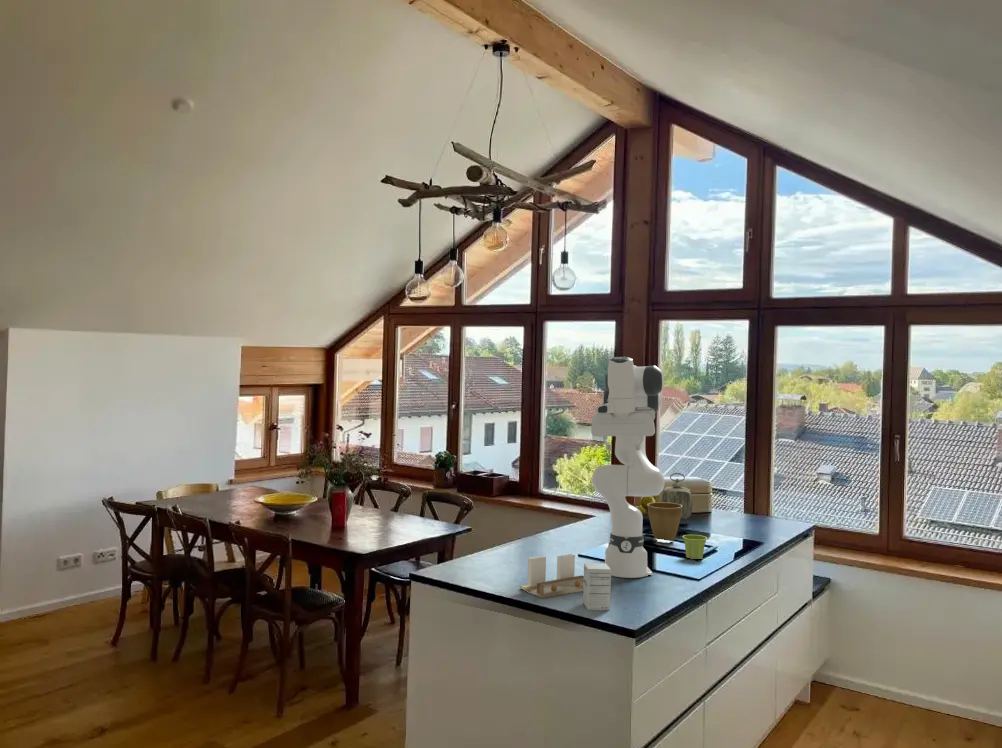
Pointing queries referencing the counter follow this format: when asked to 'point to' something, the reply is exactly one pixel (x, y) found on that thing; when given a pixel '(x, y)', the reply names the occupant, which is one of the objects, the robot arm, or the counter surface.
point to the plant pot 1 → (664, 519)
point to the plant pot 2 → (694, 546)
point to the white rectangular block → (536, 570)
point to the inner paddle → (565, 566)
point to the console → (556, 587)
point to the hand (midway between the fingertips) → (623, 450)
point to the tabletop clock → (679, 497)
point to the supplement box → (597, 586)
